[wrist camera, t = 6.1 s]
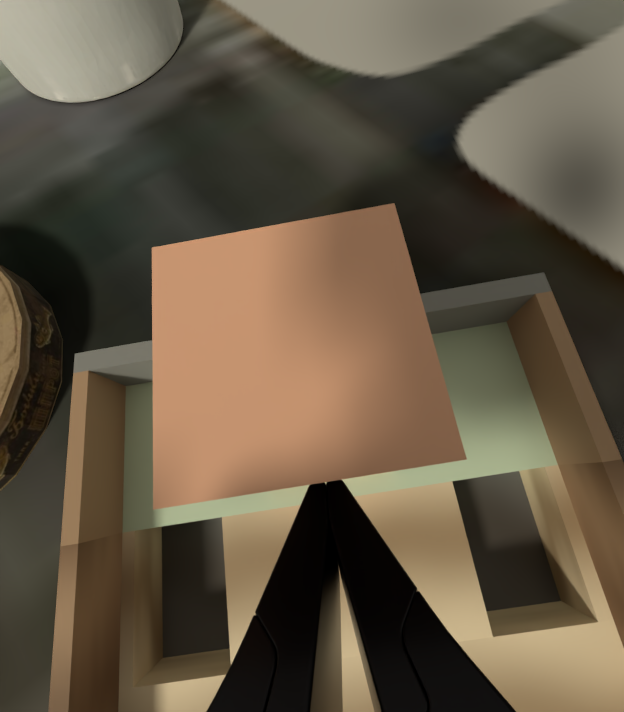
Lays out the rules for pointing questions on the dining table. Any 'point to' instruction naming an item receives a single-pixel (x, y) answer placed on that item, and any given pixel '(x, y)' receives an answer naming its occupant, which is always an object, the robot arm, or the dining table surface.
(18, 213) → the dining table surface
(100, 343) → the dining table surface
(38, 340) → the wood slice
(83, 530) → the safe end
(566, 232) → the dining table surface
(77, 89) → the utensil holder
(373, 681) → the robot arm
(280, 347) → the terracotta block
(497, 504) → the board
